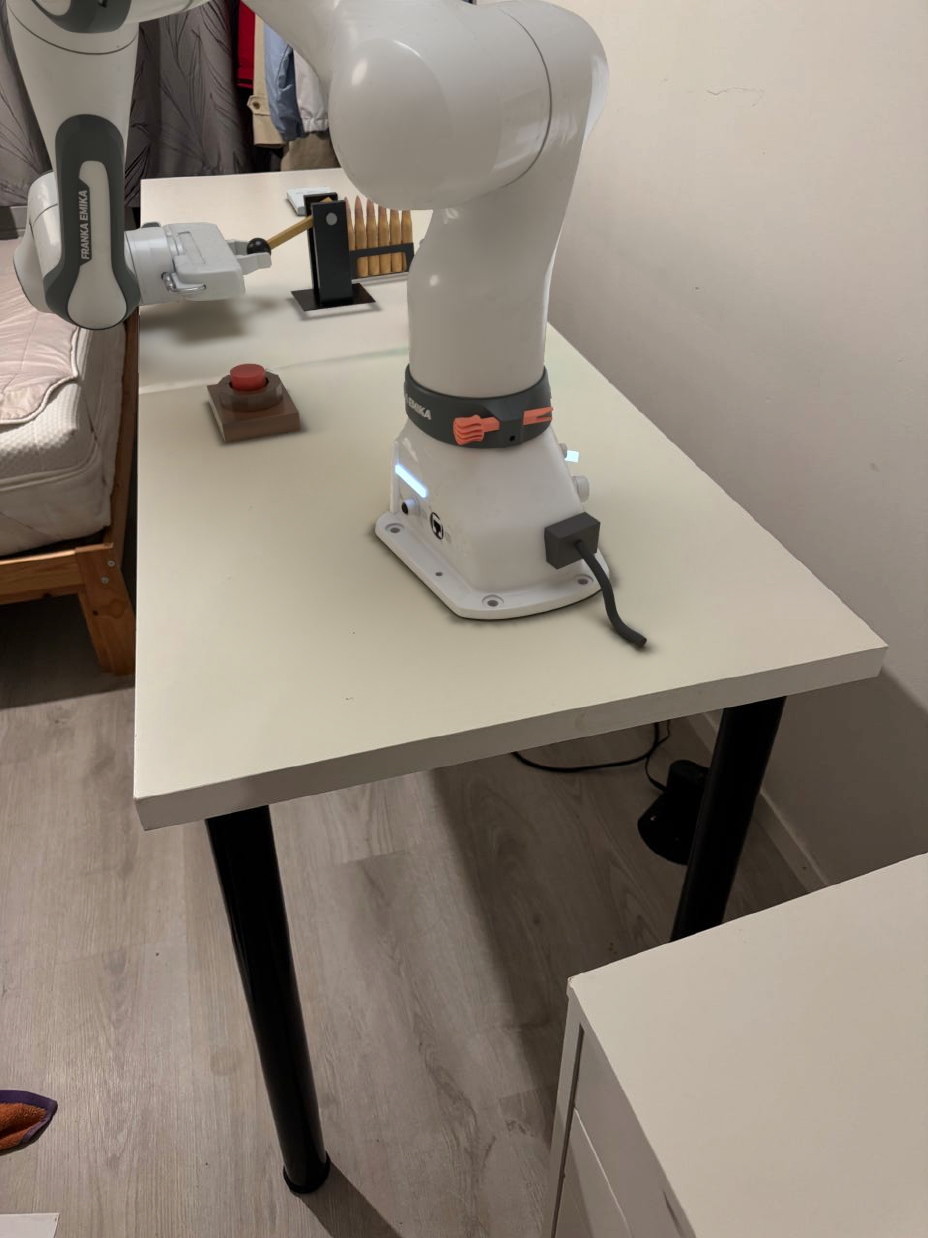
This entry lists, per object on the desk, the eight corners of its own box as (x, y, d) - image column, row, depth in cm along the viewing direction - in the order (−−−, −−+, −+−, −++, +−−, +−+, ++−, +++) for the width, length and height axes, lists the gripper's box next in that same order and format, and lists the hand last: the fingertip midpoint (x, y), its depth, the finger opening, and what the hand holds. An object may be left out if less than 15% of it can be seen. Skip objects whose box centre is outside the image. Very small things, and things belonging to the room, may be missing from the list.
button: (269, 390, 95) (267, 374, 94) (235, 395, 94) (233, 379, 93) (262, 376, 97) (260, 361, 96) (229, 381, 96) (226, 366, 95)
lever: (257, 271, 116) (244, 249, 114) (252, 264, 119) (239, 241, 116) (343, 222, 117) (332, 198, 114) (337, 215, 119) (326, 192, 117)
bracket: (305, 319, 120) (293, 209, 111) (291, 299, 126) (279, 193, 117) (376, 309, 123) (370, 202, 114) (360, 290, 129) (353, 187, 120)
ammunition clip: (347, 287, 130) (341, 198, 122) (343, 283, 131) (336, 195, 123) (416, 277, 133) (414, 190, 125) (411, 274, 134) (409, 187, 127)
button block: (301, 430, 95) (296, 395, 93) (225, 443, 93) (219, 408, 91) (280, 392, 103) (276, 359, 100) (209, 403, 100) (203, 369, 98)
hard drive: (298, 216, 158) (287, 197, 167) (343, 212, 160) (330, 194, 169) (297, 206, 157) (285, 188, 166) (343, 202, 158) (329, 185, 168)
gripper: (162, 266, 104) (280, 252, 107) (143, 218, 118) (248, 207, 122) (173, 319, 108) (287, 304, 112) (154, 266, 122) (255, 254, 126)
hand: (266, 253), depth 117 cm, fingers closed on lever, 3 cm apart
